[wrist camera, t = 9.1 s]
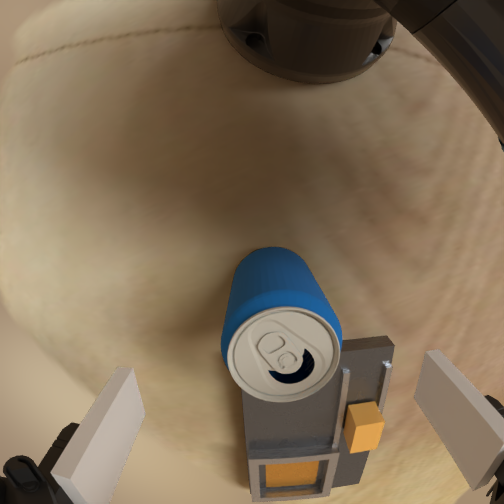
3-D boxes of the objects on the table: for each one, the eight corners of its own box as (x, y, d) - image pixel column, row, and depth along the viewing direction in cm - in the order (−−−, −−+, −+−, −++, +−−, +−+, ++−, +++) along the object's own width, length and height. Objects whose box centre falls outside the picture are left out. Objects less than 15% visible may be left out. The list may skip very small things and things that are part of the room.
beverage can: (262, 330, 28) (266, 424, 16) (218, 273, 26) (191, 345, 15) (324, 290, 27) (368, 367, 15) (282, 229, 25) (306, 271, 14)
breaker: (348, 405, 27) (356, 426, 24) (374, 401, 27) (384, 421, 24) (343, 432, 28) (349, 453, 25) (368, 428, 28) (376, 448, 25)
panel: (240, 346, 28) (238, 367, 24) (386, 335, 28) (400, 353, 24) (250, 482, 33) (250, 502, 29) (355, 472, 33) (361, 491, 29)
